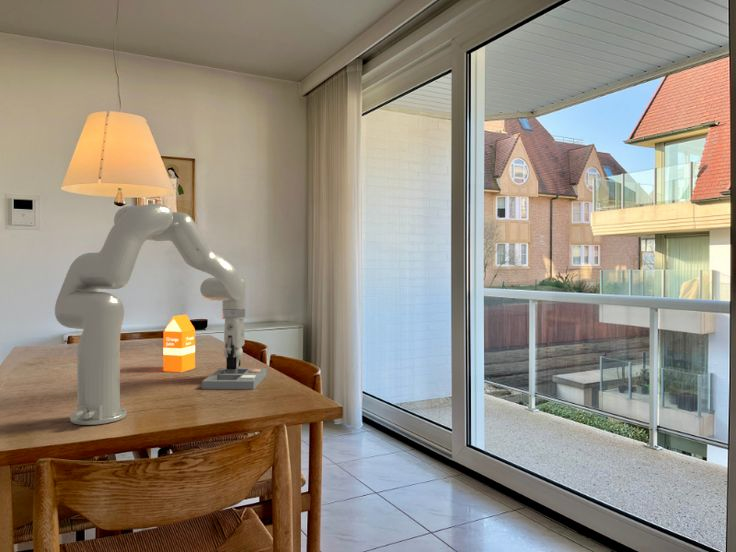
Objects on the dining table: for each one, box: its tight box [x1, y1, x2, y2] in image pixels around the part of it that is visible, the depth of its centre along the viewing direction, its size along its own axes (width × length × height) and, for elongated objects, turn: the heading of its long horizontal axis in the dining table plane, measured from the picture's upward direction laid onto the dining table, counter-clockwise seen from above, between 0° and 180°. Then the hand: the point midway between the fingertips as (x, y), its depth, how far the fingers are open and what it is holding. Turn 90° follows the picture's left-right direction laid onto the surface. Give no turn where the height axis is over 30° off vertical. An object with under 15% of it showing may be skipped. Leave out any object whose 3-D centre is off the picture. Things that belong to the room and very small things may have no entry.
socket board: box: [201, 367, 268, 391], centre depth 177 cm, size 22×16×3 cm
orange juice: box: [162, 314, 196, 373], centre depth 197 cm, size 8×9×20 cm
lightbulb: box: [223, 346, 244, 374], centre depth 181 cm, size 6×6×11 cm
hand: (233, 367), depth 181 cm, fingers closed on lightbulb, 4 cm apart
